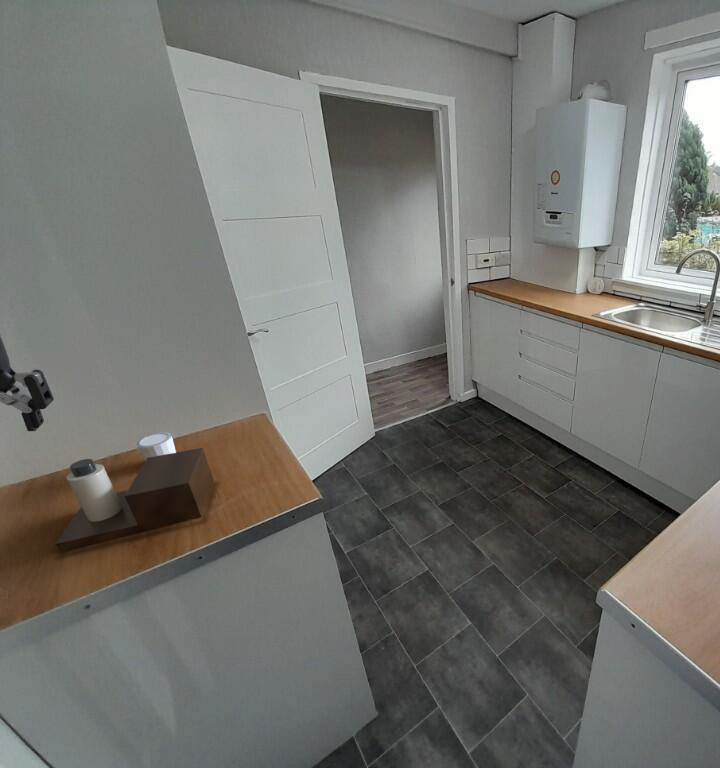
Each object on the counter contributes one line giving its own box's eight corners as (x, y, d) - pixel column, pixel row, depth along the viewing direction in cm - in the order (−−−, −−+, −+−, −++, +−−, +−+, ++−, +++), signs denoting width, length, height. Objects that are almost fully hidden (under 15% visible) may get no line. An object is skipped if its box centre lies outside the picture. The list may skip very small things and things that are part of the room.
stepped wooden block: (61, 556, 76) (37, 514, 72) (93, 509, 88) (73, 471, 84) (203, 521, 85) (188, 482, 81) (214, 483, 97) (202, 447, 92)
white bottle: (82, 524, 80) (55, 474, 75) (94, 508, 84) (69, 459, 79) (116, 517, 82) (93, 467, 77) (126, 501, 86) (104, 453, 81)
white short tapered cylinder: (153, 474, 99) (142, 450, 96) (142, 464, 103) (131, 441, 100) (185, 460, 105) (176, 437, 102) (174, 451, 108) (164, 429, 105)
